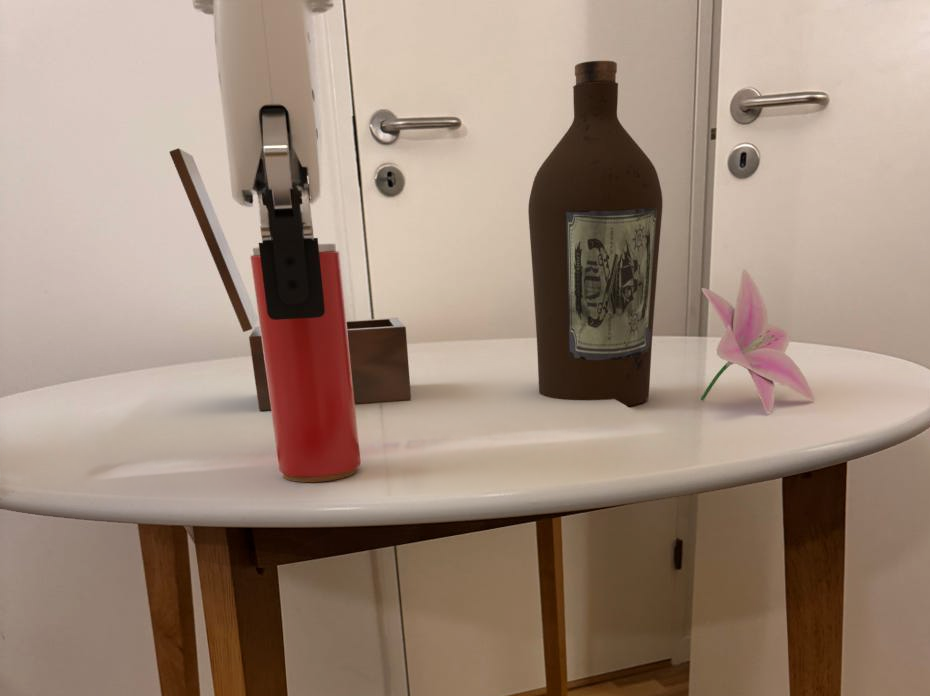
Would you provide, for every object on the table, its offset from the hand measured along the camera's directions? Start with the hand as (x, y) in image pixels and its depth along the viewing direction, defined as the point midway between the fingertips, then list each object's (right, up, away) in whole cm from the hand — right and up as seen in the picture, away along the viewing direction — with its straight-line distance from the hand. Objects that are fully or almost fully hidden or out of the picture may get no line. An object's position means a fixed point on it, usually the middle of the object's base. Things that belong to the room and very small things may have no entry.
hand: (298, 310), depth 57 cm
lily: (+33, -1, +18) cm, 38 cm away
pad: (+1, -9, +4) cm, 10 cm away
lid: (-10, +12, +19) cm, 25 cm away
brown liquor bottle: (+21, 0, +23) cm, 31 cm away
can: (+1, -9, +4) cm, 10 cm away
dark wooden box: (-2, 0, +26) cm, 26 cm away
